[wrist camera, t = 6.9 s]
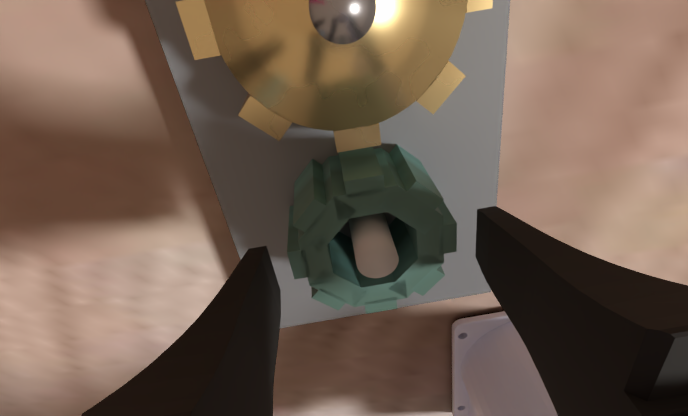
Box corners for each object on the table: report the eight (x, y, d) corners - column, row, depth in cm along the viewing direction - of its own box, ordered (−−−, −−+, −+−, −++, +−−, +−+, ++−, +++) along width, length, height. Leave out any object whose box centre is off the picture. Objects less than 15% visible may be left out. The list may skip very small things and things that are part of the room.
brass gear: (464, 107, 14) (500, 138, 11) (240, 146, 14) (226, 186, 11) (469, -211, 10) (528, -275, 7) (147, -155, 10) (92, -199, 7)
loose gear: (433, 250, 17) (456, 298, 15) (306, 271, 17) (307, 324, 15) (429, 127, 14) (457, 162, 12) (276, 154, 14) (270, 194, 12)
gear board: (478, 271, 20) (525, 351, 16) (268, 308, 20) (259, 397, 16) (500, -220, 11) (627, -342, 7) (108, -151, 11) (-17, -230, 7)
